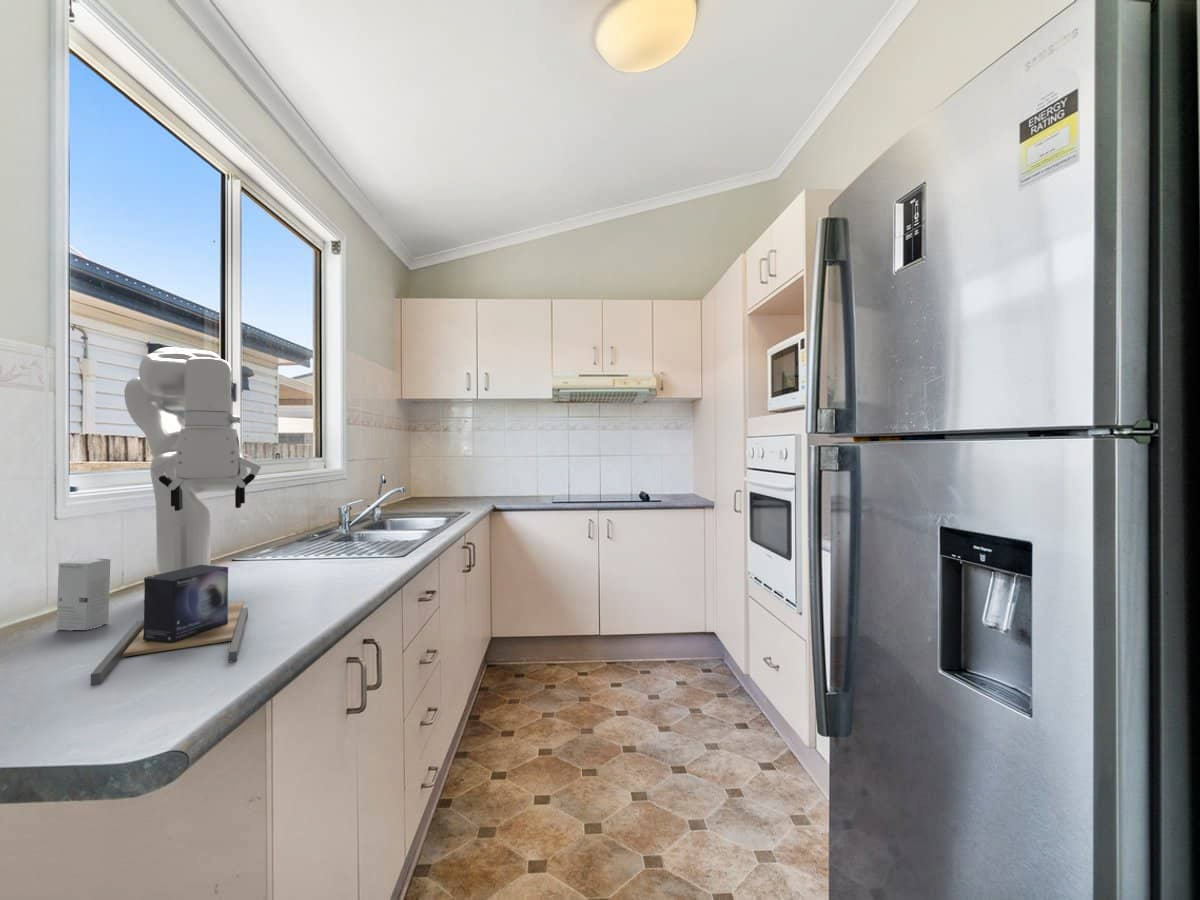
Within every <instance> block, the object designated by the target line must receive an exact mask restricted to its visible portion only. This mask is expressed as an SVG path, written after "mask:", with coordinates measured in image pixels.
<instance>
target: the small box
mask: <svg viewBox="0 0 1200 900" xmlns="http://www.w3.org/2000/svg"><path fill="white" fill-rule="evenodd" d="M143 581H144V591H143V593H144V594H143V595H144V597H143V598H144V599H143V600H144V601H143V606H144V608H143V610H144V611H143V621H144V635H143V640H148V641H158V642H168V643H174V642H177V641H179V640H182V639H185V638H188V637H191V636H193V635H196V634H199V633H202V632H205V631H208V630H210V629H213V628H216V627H219V626H222V625H225V624H227V623H228V604H229V602H228V601H229V586H228V585H229V567H228V566H220V565H211V564H210V565H197V566H193V567H188V568H184V569H180V570H175V571H171V572H167V573H162V574H157V573H156V574H153V575H149V576H146V577H144V578H143Z"/></svg>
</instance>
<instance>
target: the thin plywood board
mask: <svg viewBox="0 0 1200 900" xmlns="http://www.w3.org/2000/svg"><path fill="white" fill-rule="evenodd" d="M243 606H244V601H240V602H232V603H231V602H230V603H228V623H227V624H225V625H222V626H219V627H216V628H213V629H210V630H208V631H205V632H202V633H199V634H196V635H193V636H191V637H188V638H185V639H182V640H179V641H177V642H174V643H168V642H158V641H148V640H143V635H144V628H143V629H142V631H141V632H140V633H139V634H138V636H137V637H136V638H135V639H134V641H133V642H132V643H131V644H130V646H129V647H128V648H127V649H126V651H125V652H124V653H123V656H122V657H124V658H125V657H130V656H137V655H142V654H143V655H144V654H151V653H157V652H164V651H170V650H171V651H172V650H177V649H184V648H190V647H196V646H203V645H210V644H217V643H223V642H230V641H231V642H232V640H233V636H234V633H235V629H236V626H237V623H238V619H239V616H240V612H241V609H242V608H243Z"/></svg>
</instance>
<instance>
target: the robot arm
mask: <svg viewBox="0 0 1200 900" xmlns="http://www.w3.org/2000/svg"><path fill="white" fill-rule="evenodd" d="M123 391H124V402H125V407H126V409H127V412H128V414H129V416H130V418H131V419H132V421H133V422H134V424H135V425H136V426H137V427H138V428H139V429H140V430H141V431H142V432H143V433H144V435H145V438H146V440H147V443H148V446H149V450H150V452H151V454H152V457H153V459H152V461H151V464H150V478H151V483H152V488H153V492H154V493H153V494H154V502H155V519H156V520H155V521H156V522H155V523H156V524H155V525H156V575H157V574H162V573H167V572H171V571H175V570H180V569H184V568H188V567H193V566H197V565H211V513H210V510H209V508H208V507H207V506H206V505H205V503H203V502H202V501H201V500H200V499H199V498H198V497H197V496H196V495H199V494H206V493H225V492H233V491H234V492H235V493H234V496H235V497H234V498H235V499H234V501H235V503H234V504H235V508H236V509H241V508H242V504H245V503H246V487H247V485H248V486H249V484H250V483H251V482H253V481H254V479H256V477H257V475H258V474H259V472H260V470H261V467H262V466H261V465H260V464H258V463H256V462H253V461H251V460H248V459H246V458H244V456H243V454H242V452H241V449H240V441H239V436H238V435H239V434H238V431H237V429H236V428H232V427H233V425H234V424H241V416H239V415H238V416H237V415H234V414H233V413H232V412H233V411H232V366H231V364H230V363H229V362H228V361H227V360H225V359H222V358H221V356H219V355H218V354H217V353H215V352H213V351H208V350H201V349H200V350H199V349H191V348H181V347H169V346H168V347H161V348H158V349H156V350H154V351H153V352H151V353H148V354H146V355H144V357H143V358H142V360H141V362H140V364H139V368H138V376H136V377H134V378H131V379H129V380H128V381H127V383H126V384H125V386H124V390H123ZM175 411H182V412H183V411H184V413H183V414H184V418H183V417H182V416H181V415H180V414H178V413H177V412H175ZM248 468H249V469H250V472H249V473H248Z"/></svg>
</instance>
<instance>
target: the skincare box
mask: <svg viewBox="0 0 1200 900" xmlns="http://www.w3.org/2000/svg"><path fill="white" fill-rule="evenodd" d="M110 581H111V559H110V558H97V557H96V558H94V557H92V558H91V557H89V558H88V557H80V558H74V559H69V560H65V561H61V562H59V563H58V577H57V601H56V602H57V604H56V605H57V606H56V607H57V608H56V609H57V610H56V611H57V612H56V629H59V630H58V631H73V630H87V631H89V630H88V629H91V628H94V627H97V626H100V625H103V624H106V623H108V624H109V614H110V613H109V609H110V583H111V582H110ZM106 625H107V624H106ZM103 626H104V625H103ZM100 627H101V626H100ZM97 628H98V627H97ZM94 629H95V628H94ZM91 630H92V629H91Z"/></svg>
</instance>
